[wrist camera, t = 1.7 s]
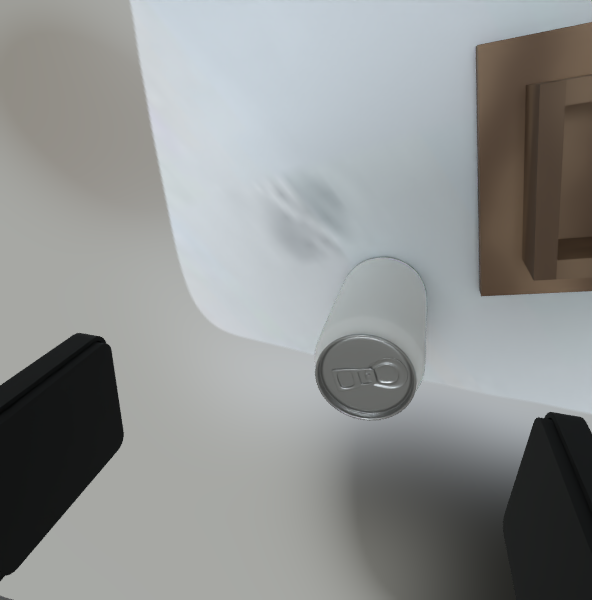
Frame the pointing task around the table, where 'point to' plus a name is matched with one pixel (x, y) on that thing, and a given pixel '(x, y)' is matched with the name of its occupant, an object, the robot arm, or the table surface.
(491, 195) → the holder
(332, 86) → the table surface
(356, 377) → the can
